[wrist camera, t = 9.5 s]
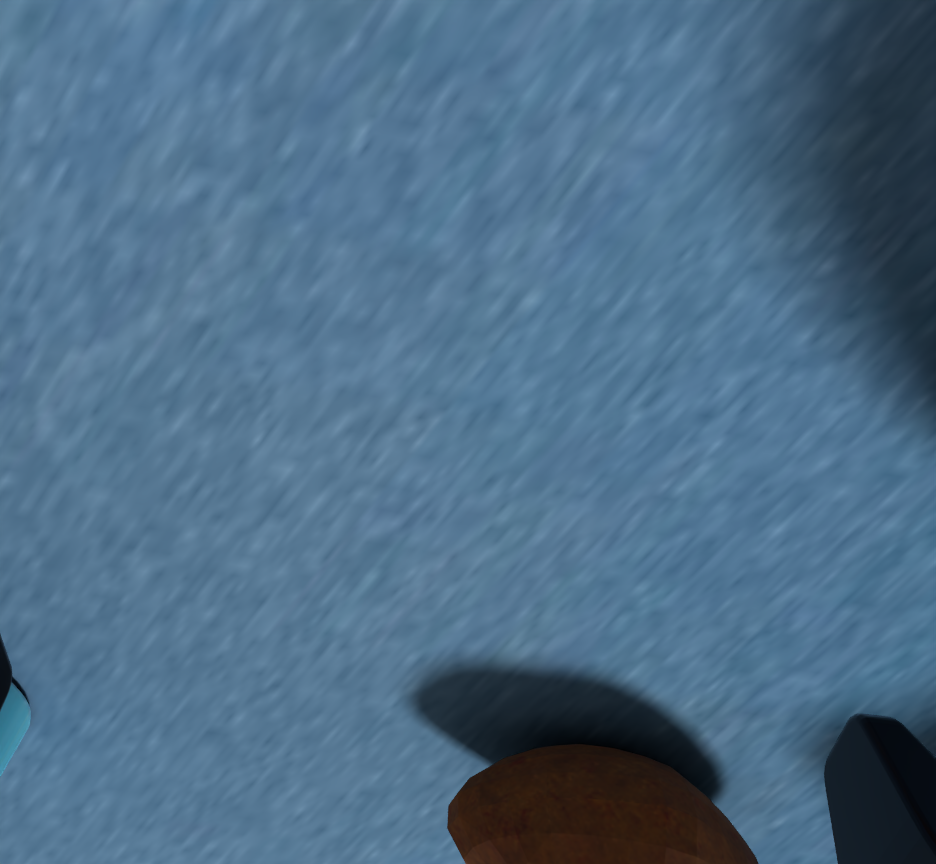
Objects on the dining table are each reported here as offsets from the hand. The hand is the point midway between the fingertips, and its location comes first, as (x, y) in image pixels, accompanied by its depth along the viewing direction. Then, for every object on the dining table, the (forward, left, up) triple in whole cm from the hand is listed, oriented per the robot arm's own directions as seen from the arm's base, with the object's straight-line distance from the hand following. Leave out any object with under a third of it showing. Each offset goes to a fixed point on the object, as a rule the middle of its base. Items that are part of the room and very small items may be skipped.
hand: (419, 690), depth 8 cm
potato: (-6, +19, -12) cm, 23 cm away
